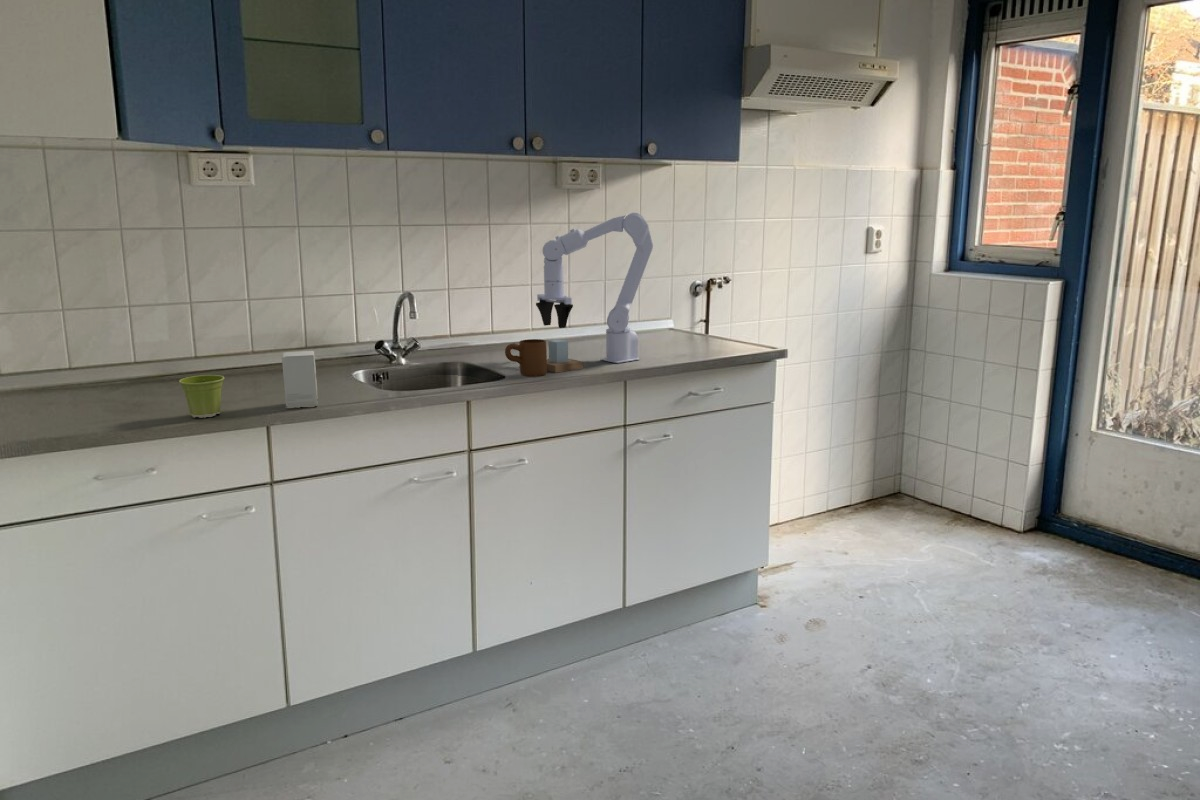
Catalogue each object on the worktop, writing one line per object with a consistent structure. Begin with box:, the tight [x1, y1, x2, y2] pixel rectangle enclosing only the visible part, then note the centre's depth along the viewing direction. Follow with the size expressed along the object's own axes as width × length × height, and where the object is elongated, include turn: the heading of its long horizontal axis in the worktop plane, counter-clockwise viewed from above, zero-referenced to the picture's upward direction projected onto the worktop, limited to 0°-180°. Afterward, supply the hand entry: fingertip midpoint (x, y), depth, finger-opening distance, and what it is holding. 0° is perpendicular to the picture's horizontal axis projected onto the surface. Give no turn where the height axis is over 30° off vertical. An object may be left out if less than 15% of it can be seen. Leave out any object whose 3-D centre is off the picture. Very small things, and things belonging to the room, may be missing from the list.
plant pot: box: [178, 374, 225, 415], centre depth 204 cm, size 9×9×9 cm
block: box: [548, 339, 569, 363], centre depth 258 cm, size 4×4×6 cm
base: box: [547, 358, 584, 374], centre depth 259 cm, size 10×10×2 cm
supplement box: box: [281, 350, 318, 407], centre depth 213 cm, size 7×7×13 cm
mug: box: [504, 338, 548, 377], centre depth 248 cm, size 12×8×9 cm, turn 116°
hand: (554, 326), depth 269 cm, fingers open, 7 cm apart
